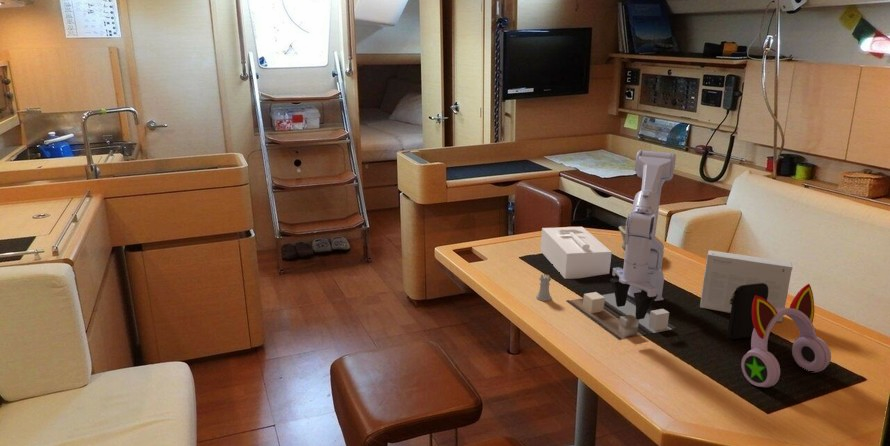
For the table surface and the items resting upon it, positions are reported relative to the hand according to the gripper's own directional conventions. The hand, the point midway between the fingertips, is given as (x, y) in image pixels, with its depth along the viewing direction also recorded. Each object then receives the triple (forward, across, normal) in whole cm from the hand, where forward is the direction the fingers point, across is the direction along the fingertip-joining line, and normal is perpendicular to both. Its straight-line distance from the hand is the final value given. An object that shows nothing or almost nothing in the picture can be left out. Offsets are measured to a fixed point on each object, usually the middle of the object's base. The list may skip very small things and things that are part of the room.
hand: (630, 312), depth 159 cm
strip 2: (+7, -10, +10) cm, 16 cm away
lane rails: (+7, -10, +5) cm, 13 cm away
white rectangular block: (+8, -49, +16) cm, 52 cm away
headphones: (+8, +27, +22) cm, 36 cm away
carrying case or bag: (+7, +10, +28) cm, 31 cm away
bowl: (+7, -48, +41) cm, 64 cm away
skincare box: (+7, -2, +40) cm, 41 cm away
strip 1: (+7, -10, 0) cm, 12 cm away
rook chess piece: (+7, -26, -9) cm, 29 cm away
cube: (+6, -15, 0) cm, 16 cm away
